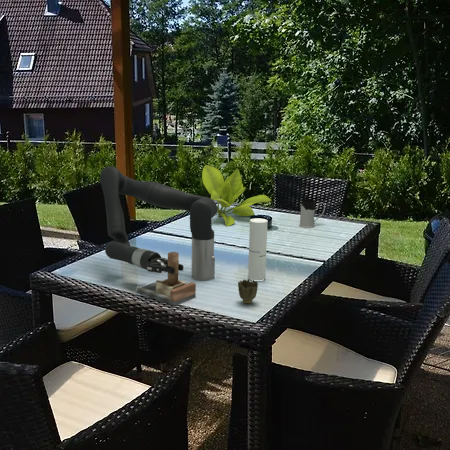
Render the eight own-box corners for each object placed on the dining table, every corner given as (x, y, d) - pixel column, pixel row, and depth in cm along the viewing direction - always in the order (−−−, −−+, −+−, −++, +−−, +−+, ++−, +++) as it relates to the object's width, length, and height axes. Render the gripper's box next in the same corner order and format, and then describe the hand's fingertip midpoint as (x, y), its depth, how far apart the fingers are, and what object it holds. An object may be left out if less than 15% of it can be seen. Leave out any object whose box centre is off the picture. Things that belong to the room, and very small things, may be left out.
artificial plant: (201, 238, 315) (224, 200, 298) (179, 184, 341) (199, 147, 324) (260, 241, 339) (286, 207, 321) (235, 192, 364) (258, 157, 347)
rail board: (136, 292, 217) (136, 279, 215) (158, 284, 225) (157, 271, 224) (174, 306, 205) (174, 291, 203) (195, 297, 213) (195, 283, 212)
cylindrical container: (247, 275, 238) (249, 218, 232) (264, 276, 238) (267, 218, 232) (248, 281, 231) (250, 222, 225) (265, 281, 231) (268, 222, 225)
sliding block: (156, 292, 212) (155, 282, 211) (170, 287, 218) (170, 277, 217) (171, 298, 208) (171, 288, 207) (186, 292, 214) (186, 282, 213)
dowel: (177, 286, 214) (177, 251, 211) (178, 290, 210) (179, 255, 207) (167, 287, 213) (167, 252, 210) (168, 291, 210) (168, 255, 206)
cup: (234, 305, 207) (235, 284, 205) (241, 298, 214) (241, 278, 212) (253, 308, 204) (254, 287, 202) (260, 301, 211) (260, 281, 209)
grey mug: (297, 224, 324) (298, 198, 320) (321, 224, 326) (323, 198, 322) (301, 228, 316) (302, 202, 312) (325, 228, 317) (327, 202, 314)
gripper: (132, 254, 212) (165, 264, 202) (159, 246, 223) (191, 255, 213) (132, 273, 214) (165, 284, 204) (159, 264, 225) (191, 274, 214)
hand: (178, 269), depth 208 cm, fingers closed on dowel, 4 cm apart
